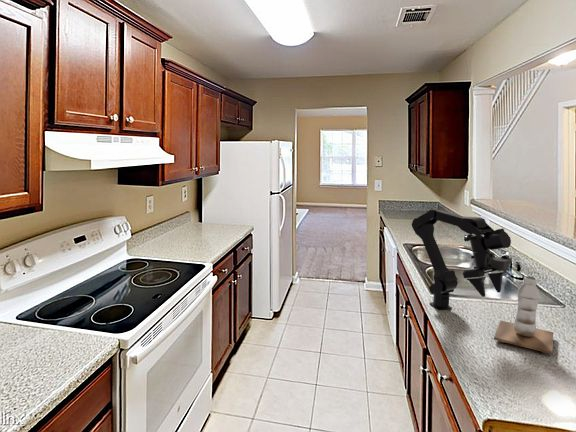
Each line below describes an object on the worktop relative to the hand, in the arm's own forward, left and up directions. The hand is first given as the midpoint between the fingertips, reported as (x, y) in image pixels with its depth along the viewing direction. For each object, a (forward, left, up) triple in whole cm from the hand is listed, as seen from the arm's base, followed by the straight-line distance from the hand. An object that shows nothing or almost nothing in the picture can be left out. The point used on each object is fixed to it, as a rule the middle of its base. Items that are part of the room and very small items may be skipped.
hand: (491, 294), depth 136 cm
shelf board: (+11, +5, -13) cm, 17 cm away
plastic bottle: (+11, +5, -11) cm, 16 cm away
